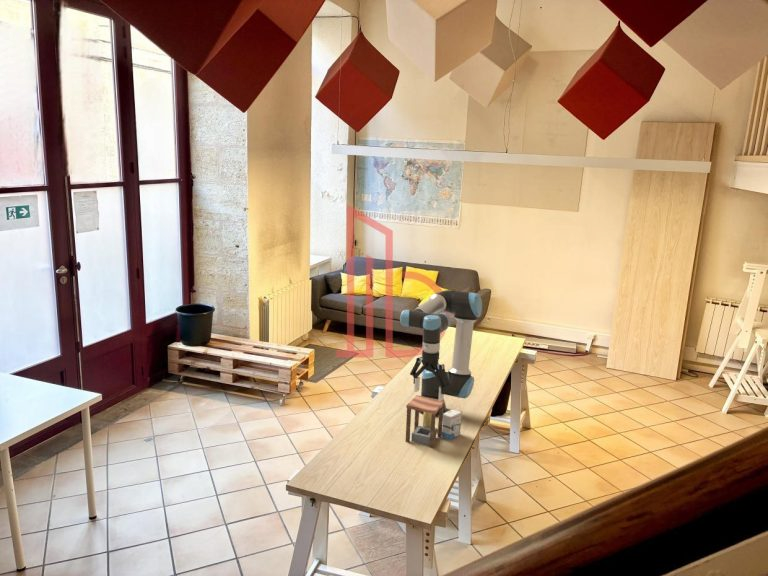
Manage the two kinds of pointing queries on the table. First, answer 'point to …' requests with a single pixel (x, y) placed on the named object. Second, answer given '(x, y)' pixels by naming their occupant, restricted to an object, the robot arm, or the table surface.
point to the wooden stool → (429, 407)
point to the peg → (427, 420)
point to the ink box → (451, 424)
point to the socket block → (422, 435)
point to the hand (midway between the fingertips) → (428, 395)
